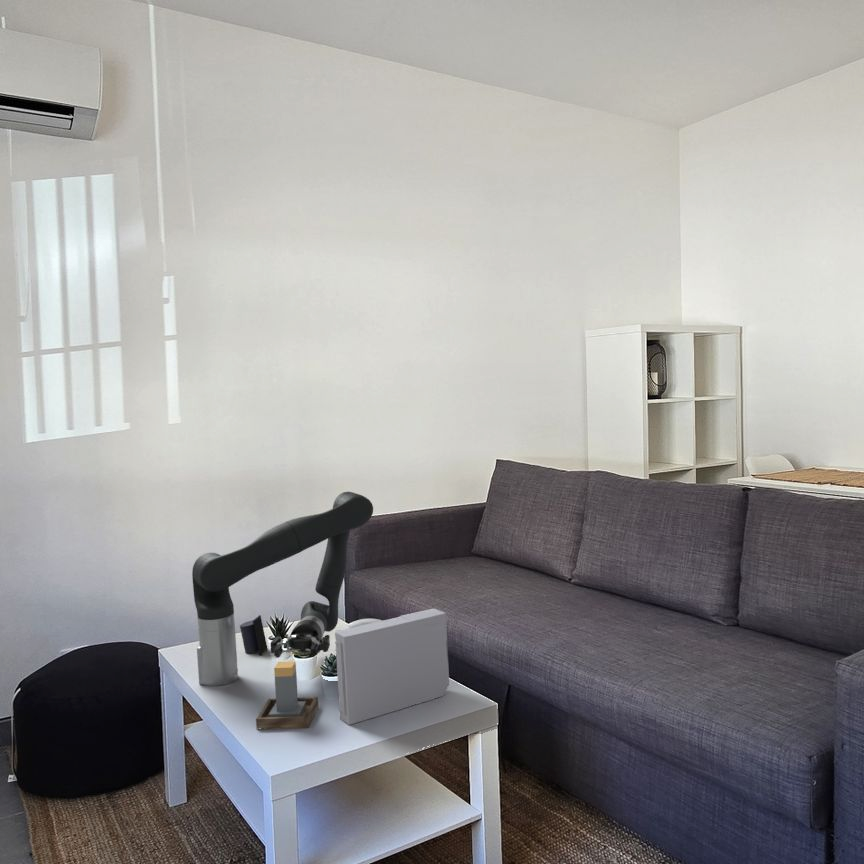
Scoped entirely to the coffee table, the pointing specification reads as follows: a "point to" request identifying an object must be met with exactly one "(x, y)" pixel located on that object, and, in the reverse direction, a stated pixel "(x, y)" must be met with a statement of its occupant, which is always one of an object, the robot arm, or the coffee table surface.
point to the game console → (391, 664)
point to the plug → (286, 692)
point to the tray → (287, 722)
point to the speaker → (254, 636)
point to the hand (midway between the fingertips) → (294, 653)
